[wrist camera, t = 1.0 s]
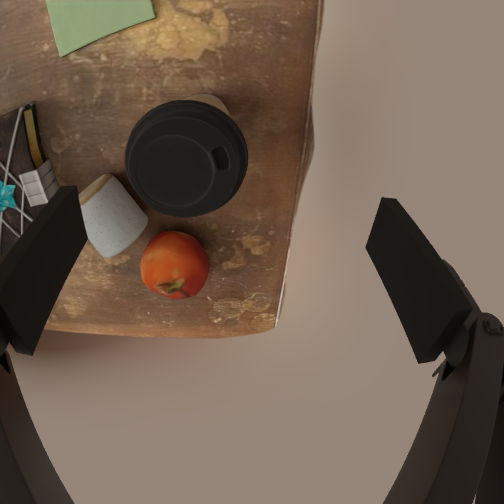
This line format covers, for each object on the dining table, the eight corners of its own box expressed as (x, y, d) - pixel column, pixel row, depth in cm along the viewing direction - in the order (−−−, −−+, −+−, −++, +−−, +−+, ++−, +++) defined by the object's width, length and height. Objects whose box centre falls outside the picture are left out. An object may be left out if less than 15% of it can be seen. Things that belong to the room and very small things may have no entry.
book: (-40, 134, 29) (-60, 147, 25) (36, 97, 29) (14, 107, 25) (7, 248, 42) (-7, 267, 38) (82, 238, 42) (69, 259, 38)
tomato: (144, 218, 41) (130, 256, 35) (212, 223, 42) (209, 262, 36) (149, 270, 47) (138, 310, 40) (209, 275, 48) (206, 316, 41)
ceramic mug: (117, 160, 35) (93, 190, 29) (155, 208, 40) (140, 244, 34) (65, 201, 38) (40, 233, 32) (101, 242, 43) (83, 278, 37)
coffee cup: (261, 119, 34) (276, 173, 22) (201, 171, 37) (185, 247, 26) (202, 61, 29) (180, 76, 17) (144, 119, 33) (94, 173, 21)
